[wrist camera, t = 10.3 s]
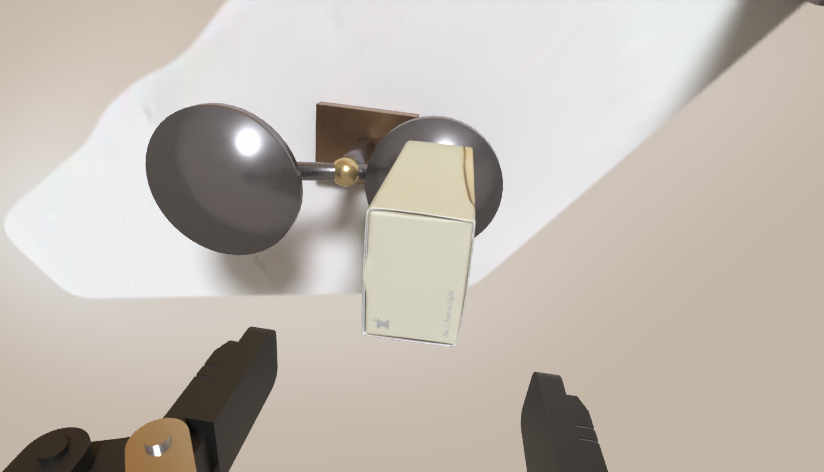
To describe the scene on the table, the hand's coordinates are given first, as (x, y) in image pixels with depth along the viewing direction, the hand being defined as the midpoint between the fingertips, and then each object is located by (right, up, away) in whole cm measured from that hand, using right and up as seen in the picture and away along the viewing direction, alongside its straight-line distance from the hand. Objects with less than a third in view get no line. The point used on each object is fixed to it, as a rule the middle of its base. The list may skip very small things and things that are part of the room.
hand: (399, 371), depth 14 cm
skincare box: (+2, +7, +15) cm, 17 cm away
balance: (-3, +12, +23) cm, 26 cm away
